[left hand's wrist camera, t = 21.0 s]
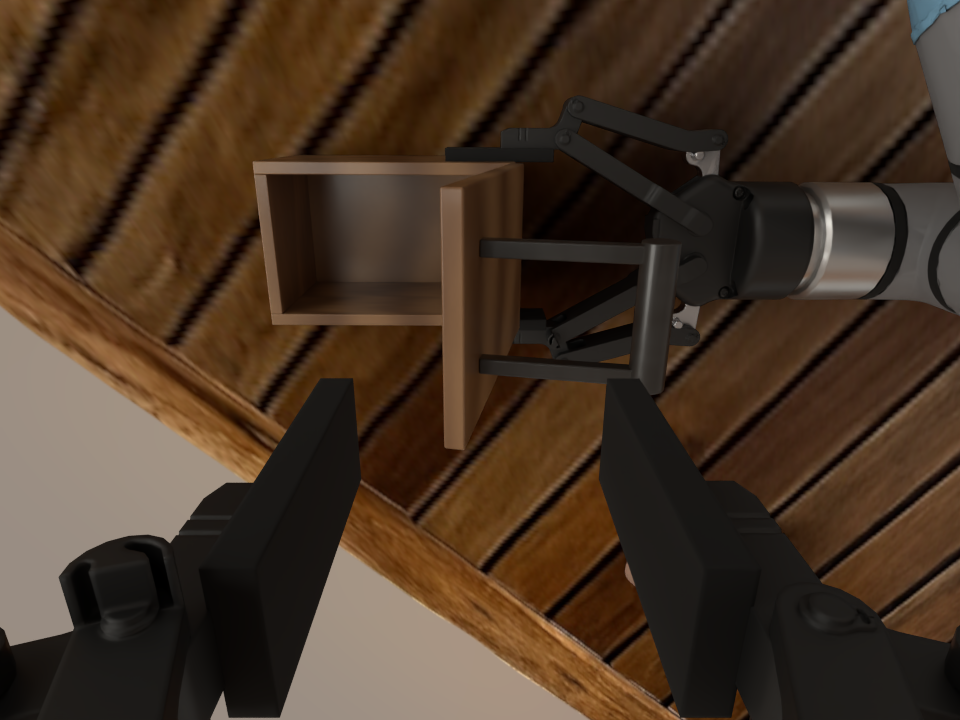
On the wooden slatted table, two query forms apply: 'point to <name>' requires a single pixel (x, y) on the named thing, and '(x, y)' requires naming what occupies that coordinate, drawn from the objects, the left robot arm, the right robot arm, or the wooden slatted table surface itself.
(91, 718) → the left robot arm
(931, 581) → the wooden slatted table surface
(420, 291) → the chest
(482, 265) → the lid
